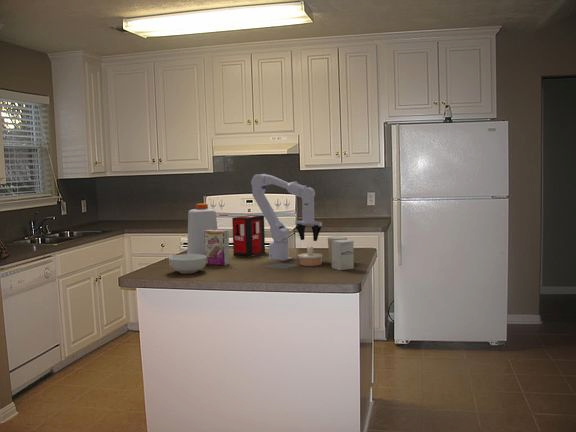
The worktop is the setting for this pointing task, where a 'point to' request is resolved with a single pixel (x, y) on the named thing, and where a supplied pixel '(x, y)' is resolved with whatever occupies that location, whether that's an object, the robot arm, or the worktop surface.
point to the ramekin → (310, 261)
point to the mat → (281, 265)
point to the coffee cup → (331, 244)
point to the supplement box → (342, 254)
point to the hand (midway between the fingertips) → (308, 240)
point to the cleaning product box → (248, 235)
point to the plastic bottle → (199, 227)
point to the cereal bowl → (187, 263)
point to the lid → (310, 254)
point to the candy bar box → (216, 247)
